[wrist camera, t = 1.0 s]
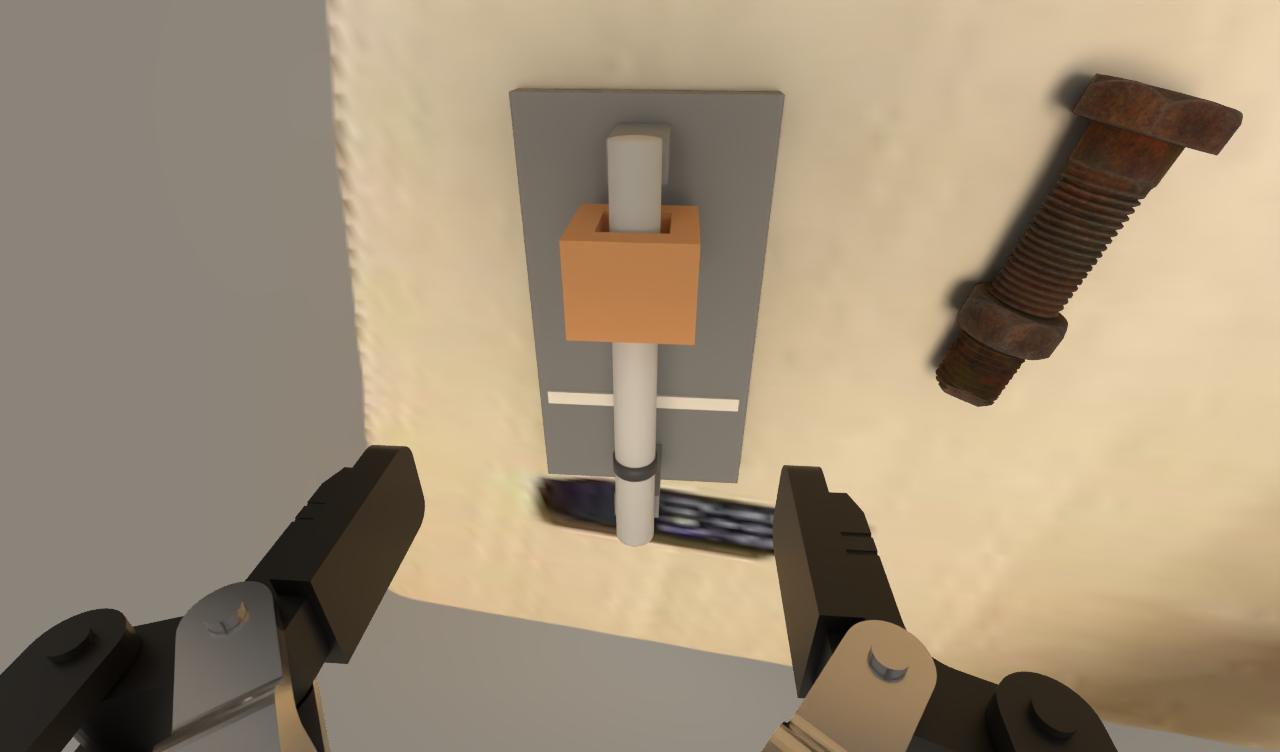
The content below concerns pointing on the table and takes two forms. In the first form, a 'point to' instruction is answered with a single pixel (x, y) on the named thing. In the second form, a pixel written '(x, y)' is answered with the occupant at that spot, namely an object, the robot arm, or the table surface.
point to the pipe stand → (635, 190)
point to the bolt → (1076, 227)
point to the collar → (631, 278)
